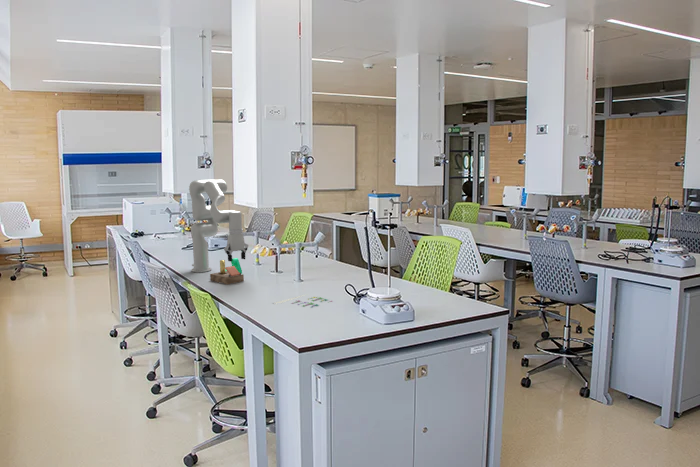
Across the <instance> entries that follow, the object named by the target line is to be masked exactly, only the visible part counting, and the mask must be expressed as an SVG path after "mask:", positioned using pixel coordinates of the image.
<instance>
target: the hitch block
mask: <svg viewBox="0 0 700 467" xmlns="http://www.w3.org/2000/svg"><path fill="white" fill-rule="evenodd" d="M244 276H245V275H244V274H243V273H242V274H241V273H240V275H236V276H231V275H230V274H229V273H228V272H227V271H225V274H220V271H219V272H215V273H210V274H209V277H210V278H209V281H211V282H216V283H219V282H220V284H223V283H224V285H230V284H231V283H232V284H236V283H242V282H244V281H245V280H244V279H245V277H244Z"/></svg>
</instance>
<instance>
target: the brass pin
mask: <svg viewBox="0 0 700 467" xmlns="http://www.w3.org/2000/svg"><path fill="white" fill-rule="evenodd" d="M225 268H226V260H225V259H221V260H220V259H219V270H220V271H219V272H220V274H225V270H226V269H225Z"/></svg>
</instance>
